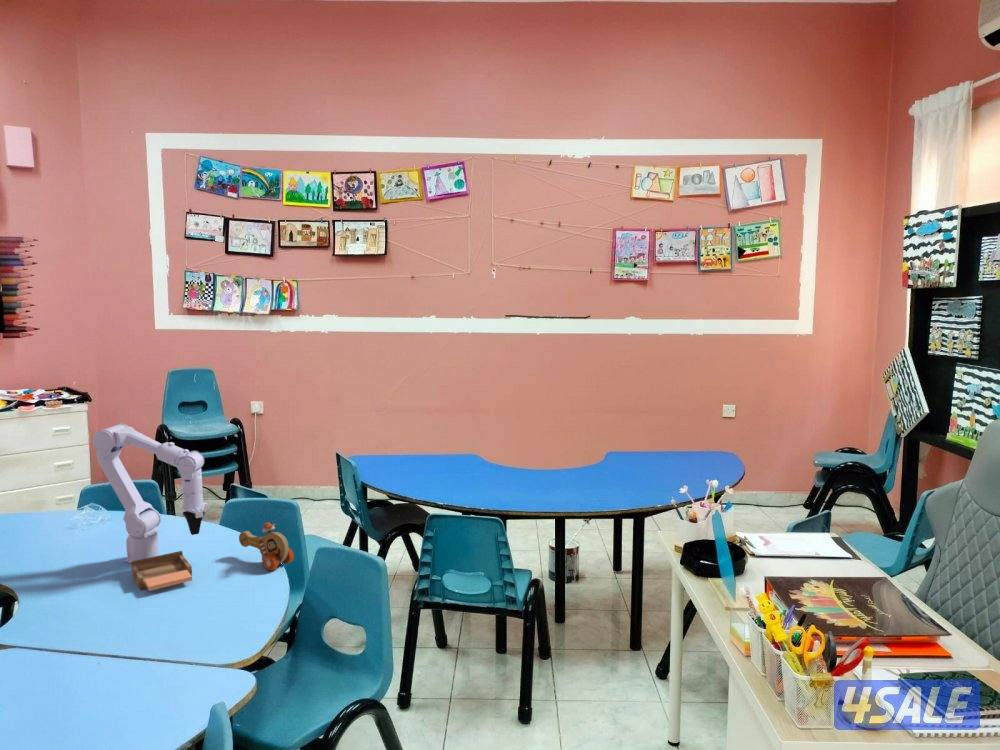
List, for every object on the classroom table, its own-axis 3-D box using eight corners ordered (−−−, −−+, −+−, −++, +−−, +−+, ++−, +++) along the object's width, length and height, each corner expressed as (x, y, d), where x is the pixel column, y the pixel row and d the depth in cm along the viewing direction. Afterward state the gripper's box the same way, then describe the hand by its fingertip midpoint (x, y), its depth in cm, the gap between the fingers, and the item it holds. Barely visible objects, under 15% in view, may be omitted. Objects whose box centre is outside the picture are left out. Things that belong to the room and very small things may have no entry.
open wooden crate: (132, 576, 206) (131, 561, 206) (182, 564, 215) (181, 550, 214) (140, 590, 197) (139, 575, 196) (192, 577, 205) (191, 563, 205)
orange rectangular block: (144, 579, 197) (148, 586, 193) (187, 569, 204) (191, 576, 200) (144, 583, 197) (148, 590, 193) (187, 573, 204) (192, 580, 200)
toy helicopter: (276, 573, 209) (274, 530, 207) (230, 559, 219) (228, 517, 217) (297, 564, 216) (295, 521, 214) (251, 550, 226) (249, 510, 224)
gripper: (212, 494, 210) (214, 537, 212) (199, 483, 221) (202, 524, 223) (187, 499, 206) (190, 542, 207) (176, 487, 217) (178, 529, 219)
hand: (194, 533), depth 215 cm, fingers closed
